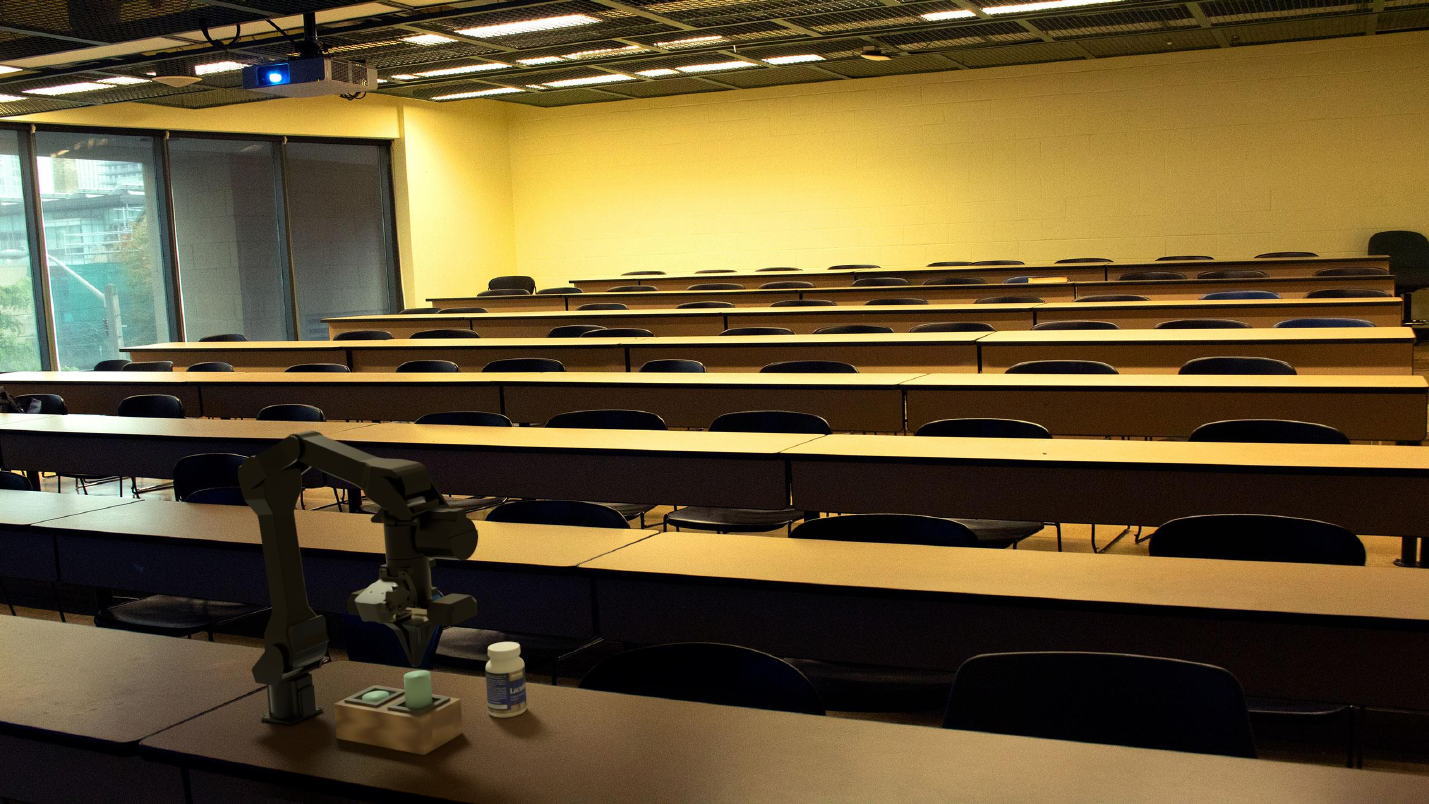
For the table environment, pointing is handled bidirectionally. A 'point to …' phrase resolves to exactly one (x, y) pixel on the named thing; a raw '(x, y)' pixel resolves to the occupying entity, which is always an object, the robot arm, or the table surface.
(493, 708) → the pill bottle
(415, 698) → the plunger
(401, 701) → the socket block
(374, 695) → the plunger
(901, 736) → the table surface
